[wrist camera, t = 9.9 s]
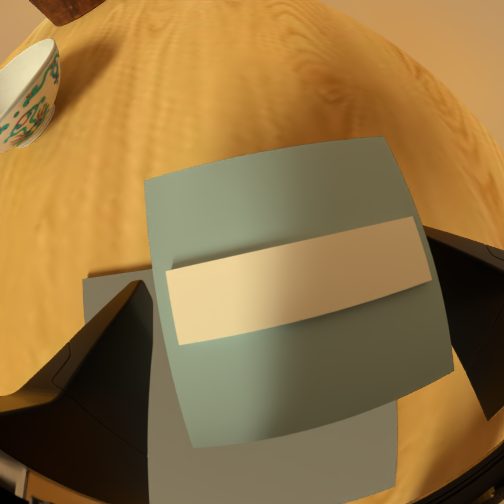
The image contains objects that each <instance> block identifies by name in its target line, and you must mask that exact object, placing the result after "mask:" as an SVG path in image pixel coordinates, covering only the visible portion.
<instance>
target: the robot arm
mask: <svg viewBox="0 0 504 504" xmlns="http://www.w3.org/2000/svg"><path fill="white" fill-rule="evenodd" d="M422 226H423V225H422ZM423 229H424V232H425V235H426V238H427V241H428V244H429V247H430V251H431V254H432V257H433V261H434V264H435V268H436V272H437V276H438V280H439V284H440V288H441V292H442V296H443V301H444V306H445V311H446V316H447V321H448V327H449V333H450V339H451V345H452V347H453V348H454V350H455V352H456V354H457V356H458V358H459V360H460V362H461V364H462V366H463V368H464V370H465V372H466V374H467V376H468V378H469V380H470V382H471V385H472V387H473V389H474V391H475V393H476V396H477V398H478V400H479V403H480V405H481V407H482V410H483V412H484V415H485V417H486V419H487V421H489V420H491V419H492V418H493V417H494V416H496V415H497V414H498V413H499V412H501V411H502V410H503V409H504V250H501V249H498V248H495V247H492V246H489V245H484V244H483V243H480V242H476V241H473V240H470V239H467V238H464V237H461V236H458V235H454V234H451V233H448V232H444V231H441V230H437V229H434V228H430V227H427V226H423ZM152 351H153V299H152V297H151V295H150V293H149V291H148V288H147V286H146V284H145V282H144V281H143V280H141V279H139V280H135V281H131V282H130V283H129V284H128V285H127V286H126V287H124V288H123V289H122V290H121V291H120V292H119V293H118V294H117V295H116V296H115V297H114V298H113V299H112V300H111V301H109V302H108V303H107V304H106V305H105V306H104V307H103V308H102V309H101V310H100V311H99V312H98V313H97V314H96V315H95V316H94V317H93V318H92V319H91V320H90V321H89V322H88V323H87V324H86V325H85V326H84V327H83V328H82V329H81V330H80V331H79V332H78V333H77V334H76V335H75V336H74V337H73V338H72V339H71V340H70V342H68V343H67V344H66V345H65V346H64V347H63V348H62V349H61V350H60V351H59V352H58V353H57V354H56V355H55V356H54V357H53V358H52V359H51V360H50V361H49V362H48V363H47V364H46V365H45V366H43V367H42V368H41V369H40V370H39V371H38V372H37V373H36V374H35V375H34V376H33V377H32V378H31V379H30V380H29V381H28V382H27V383H26V384H25V385H23V386H22V387H21V388H20V389H19V390H18V391H16V392H15V393H12V394H10V395H6V396H0V504H150V501H149V481H148V457H147V456H148V410H149V390H150V375H151V362H152ZM407 504H504V440H503V441H502V442H501V443H499V444H498V445H497V446H496V447H495V448H493V449H492V450H491V451H490V452H488V453H487V454H486V455H485V456H483V457H482V458H481V459H479V460H478V461H477V462H475V463H474V464H473V465H471V466H470V467H468V468H467V469H465V470H464V471H463V472H461V473H460V474H458V475H457V476H455V477H453V478H452V479H450V480H449V481H447V482H446V483H444V484H442V485H441V486H439V487H437V488H435V489H434V490H432V491H430V492H428V493H426V494H425V495H423V496H421V497H419V498H417V499H415V500H413V501H411V502H409V503H407Z"/></svg>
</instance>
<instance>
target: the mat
mask: <svg viewBox="0 0 504 504" xmlns="http://www.w3.org/2000/svg"><path fill="white" fill-rule="evenodd" d="M139 279H141V280H143V281H144V282H145V284H146V286H147V288H148V291H149V293H150V295H151V297H152V299H153V351H152V362H151V375H150V390H149V410H148V456H147V457H148V481H149V501H150V504H343V503H347V502H351V501H354V500H357V499H361V498H364V497H367V496H370V495H373V494H376V493H379V492H382V491H384V490H387V489H390V488H392V487H395V479H396V463H397V401H396V400H394V401H392V402H390V403H387V404H385V405H382V406H380V407H377V408H375V409H372V410H370V411H367V412H364V413H362V414H359V415H356V416H353V417H350V418H347V419H344V420H341V421H338V422H335V423H331V424H328V425H325V426H321V427H317V428H314V429H310V430H306V431H302V432H298V433H294V434H290V435H285V436H280V437H276V438H271V439H265V440H260V441H254V442H247V443H241V444H233V445H225V446H216V447H205V448H193V447H192V444H191V441H190V438H189V434H188V431H187V428H186V425H185V421H184V418H183V414H182V411H181V407H180V404H179V400H178V396H177V393H176V389H175V385H174V381H173V377H172V373H171V368H170V364H169V360H168V355H167V350H166V346H165V341H164V336H163V331H162V326H161V320H160V315H159V309H158V303H157V297H156V291H155V284H154V277H153V270H152V269H148V270H141V271H134V272H127V273H120V274H113V275H106V276H100V277H93V278H86V279H83V304H84V318H85V325H86V324H87V323H88V322H89V321H90V320H91V319H92V318H93V317H94V316H95V315H96V314H97V313H98V312H99V311H100V310H101V309H102V308H103V307H104V306H105V305H106V304H107V303H108V302H109V301H111V300H112V299H113V298H114V297H115V296H116V295H117V294H118V293H119V292H120V291H121V290H122V289H123V288H124V287H126V286H127V285H128V284H129V283H130V282H131V281H135V280H139Z"/></svg>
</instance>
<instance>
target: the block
mask: <svg viewBox="0 0 504 504" xmlns="http://www.w3.org/2000/svg"><path fill="white" fill-rule="evenodd" d="M144 186H145V202H146V215H147V227H148V237H149V246H150V255H151V263H152V270H153V277H154V284H155V291H156V297H157V303H158V309H159V315H160V320H161V326H162V331H163V336H164V341H165V346H166V350H167V355H168V360H169V364H170V368H171V373H172V377H173V381H174V385H175V389H176V393H177V396H178V400H179V404H180V407H181V411H182V414H183V418H184V421H185V425H186V428H187V431H188V434H189V438H190V441H191V444H192V447H193V448H205V447H216V446H225V445H233V444H241V443H247V442H254V441H260V440H265V439H271V438H276V437H280V436H285V435H290V434H294V433H298V432H302V431H306V430H310V429H314V428H317V427H321V426H325V425H328V424H331V423H335V422H338V421H341V420H344V419H347V418H350V417H353V416H356V415H359V414H362V413H364V412H367V411H370V410H372V409H375V408H377V407H380V406H382V405H385V404H387V403H390V402H392V401H394V400H397V399H399V398H401V397H404V396H406V395H408V394H410V393H412V392H414V391H416V390H419V389H421V388H423V387H425V386H427V385H429V384H431V383H433V382H434V381H436V380H438V379H440V378H442V377H444V376H446V375H447V374H449V373H451V372H453V371H454V363H453V354H452V346H451V339H450V333H449V327H448V321H447V316H446V311H445V306H444V301H443V296H442V292H441V288H440V284H439V280H438V276H437V272H436V268H435V264H434V261H433V257H432V254H431V251H430V247H429V244H428V241H427V238H426V235H425V232H424V229H423V226H422V223H421V220H420V217H419V215H418V212H417V209H416V207H415V204H414V202H413V199H412V196H411V194H410V191H409V189H408V187H407V184H406V182H405V180H404V177H403V175H402V173H401V171H400V168H399V166H398V164H397V162H396V160H395V158H394V155H393V153H392V151H391V149H390V147H389V145H388V143H387V141H386V139H385V137H384V136H377V137H364V138H354V139H344V140H335V141H327V142H319V143H312V144H305V145H299V146H292V147H286V148H280V149H274V150H269V151H263V152H258V153H253V154H248V155H243V156H238V157H233V158H229V159H224V160H220V161H216V162H211V163H207V164H203V165H199V166H195V167H191V168H187V169H183V170H180V171H176V172H172V173H169V174H165V175H162V176H158V177H155V178H151V179H148V180H145V181H144Z"/></svg>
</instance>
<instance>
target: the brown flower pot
mask: <svg viewBox="0 0 504 504" xmlns="http://www.w3.org/2000/svg"><path fill="white" fill-rule="evenodd" d="M29 1H30V2H31V3H32V4H33V5H35V6H36V7H37V8H38V9H39V10H40V11H41V12H42V13H43V14H44V15H45V16H46V17H47V18H48V19H49V20H50V21H51V22H52V23H53V24H54V25H56V26H62V25H65V24H67V23H69V22H71V21H73V20H76V19H77V18H79V17H81V16H83V15H84V14H86V13H88V12H89V11H91V10H92V9H94V8H95V7H97V6H98V5H99V4H101V3H102V2H103V1H105V0H29Z"/></svg>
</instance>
